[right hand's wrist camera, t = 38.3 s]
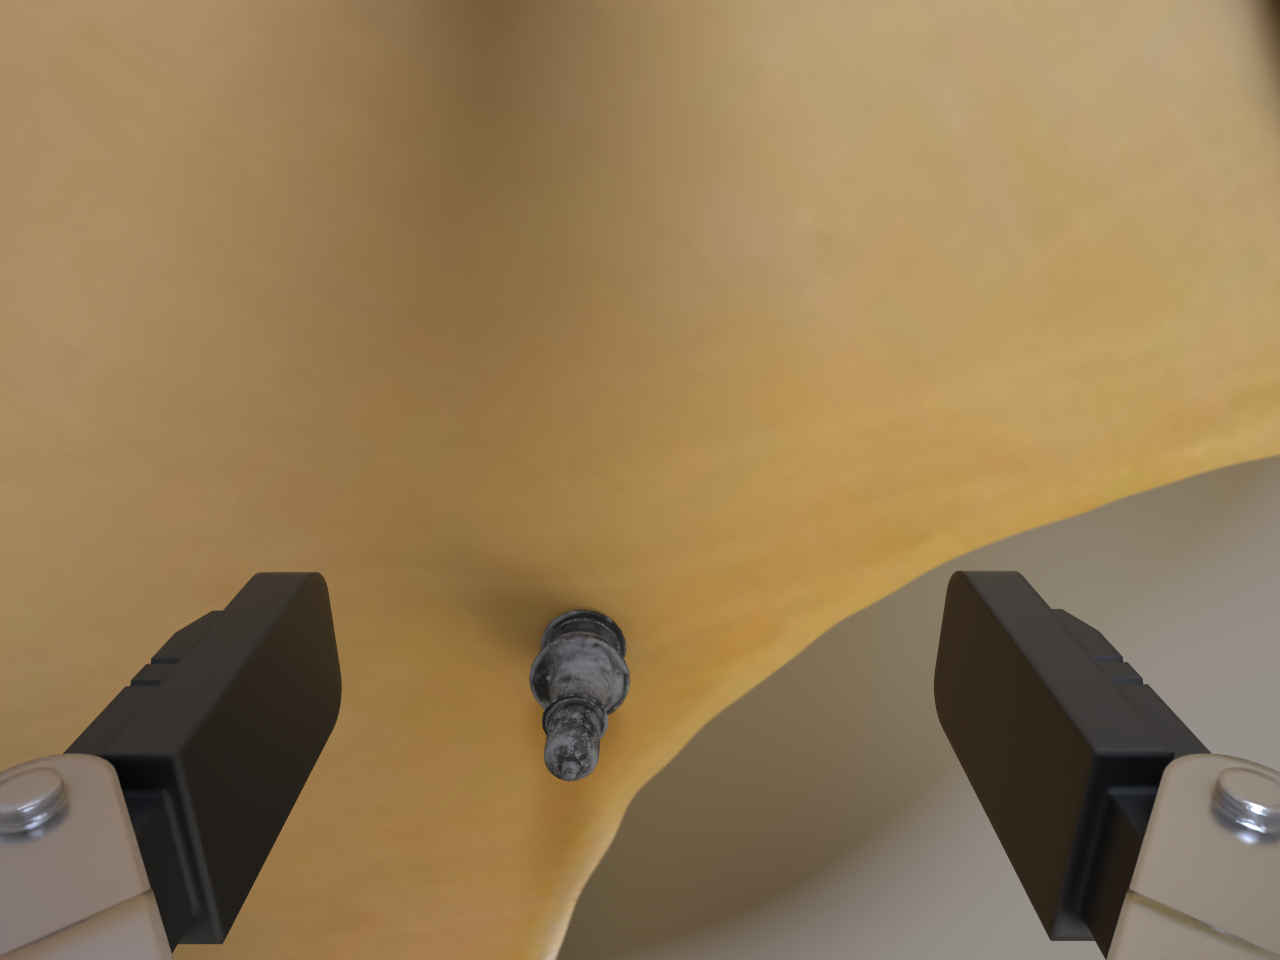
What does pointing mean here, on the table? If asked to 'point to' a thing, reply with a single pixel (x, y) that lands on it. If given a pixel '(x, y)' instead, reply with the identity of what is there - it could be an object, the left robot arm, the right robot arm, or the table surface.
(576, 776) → the grey tall turned piece
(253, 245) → the table surface
